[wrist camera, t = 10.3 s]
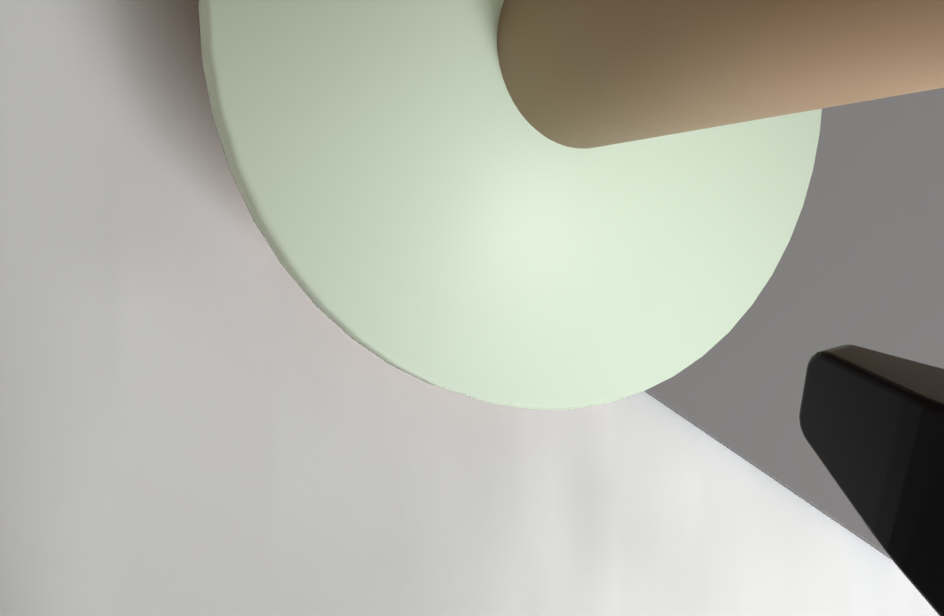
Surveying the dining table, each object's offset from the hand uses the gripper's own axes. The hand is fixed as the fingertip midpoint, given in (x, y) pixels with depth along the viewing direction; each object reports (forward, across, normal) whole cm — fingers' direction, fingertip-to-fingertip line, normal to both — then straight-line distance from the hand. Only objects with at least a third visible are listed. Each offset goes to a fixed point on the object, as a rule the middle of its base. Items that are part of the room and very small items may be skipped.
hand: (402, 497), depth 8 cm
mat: (+15, -20, +9) cm, 27 cm away
